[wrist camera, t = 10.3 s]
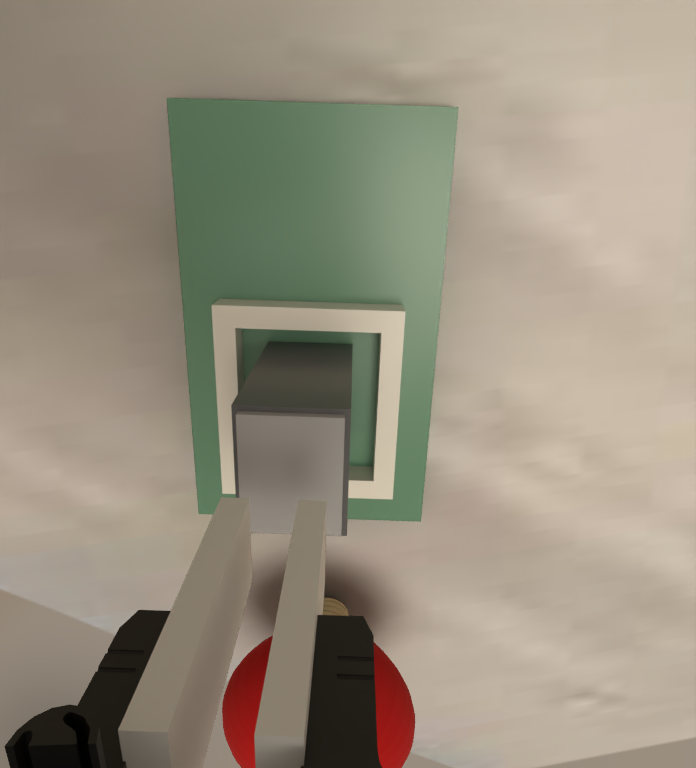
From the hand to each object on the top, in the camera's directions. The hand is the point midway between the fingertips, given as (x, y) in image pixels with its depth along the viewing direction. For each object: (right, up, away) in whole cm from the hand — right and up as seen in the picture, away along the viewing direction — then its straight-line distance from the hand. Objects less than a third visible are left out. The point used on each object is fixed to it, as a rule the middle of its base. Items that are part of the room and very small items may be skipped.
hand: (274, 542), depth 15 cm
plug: (0, +4, +11) cm, 12 cm away
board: (0, +7, +12) cm, 14 cm away
